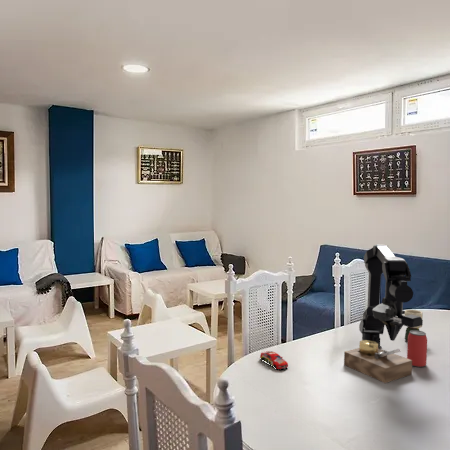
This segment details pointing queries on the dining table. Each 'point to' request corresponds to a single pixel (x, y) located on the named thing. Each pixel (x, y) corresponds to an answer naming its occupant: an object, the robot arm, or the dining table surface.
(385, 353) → the latch bar
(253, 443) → the dining table surface
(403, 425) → the dining table surface
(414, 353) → the beer can
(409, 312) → the character mug
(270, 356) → the race car
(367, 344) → the brass pin
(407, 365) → the brown rectangular block
